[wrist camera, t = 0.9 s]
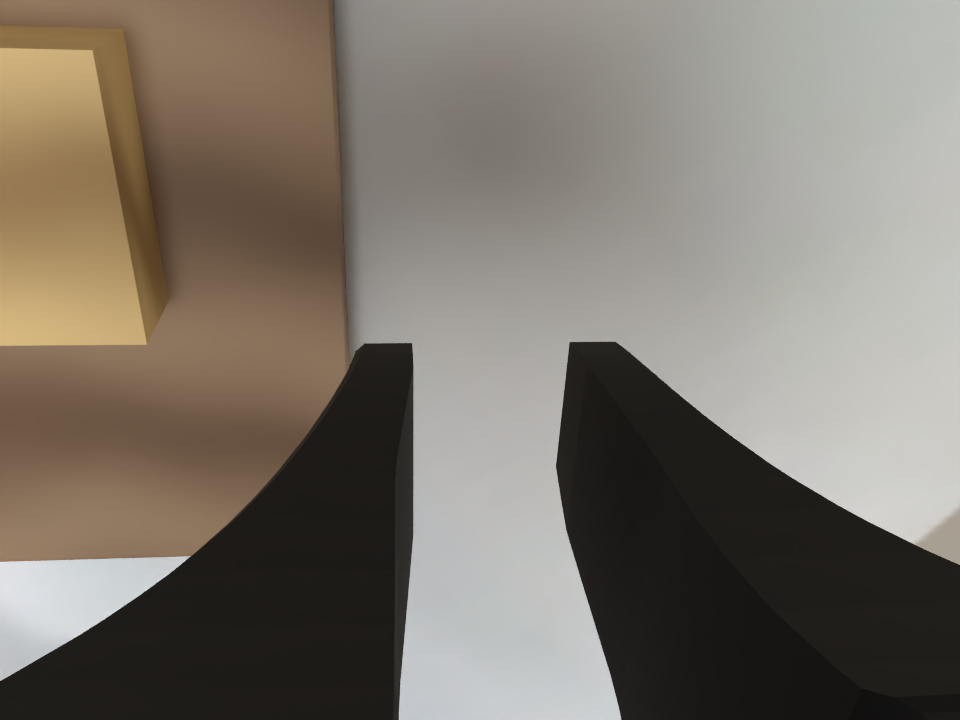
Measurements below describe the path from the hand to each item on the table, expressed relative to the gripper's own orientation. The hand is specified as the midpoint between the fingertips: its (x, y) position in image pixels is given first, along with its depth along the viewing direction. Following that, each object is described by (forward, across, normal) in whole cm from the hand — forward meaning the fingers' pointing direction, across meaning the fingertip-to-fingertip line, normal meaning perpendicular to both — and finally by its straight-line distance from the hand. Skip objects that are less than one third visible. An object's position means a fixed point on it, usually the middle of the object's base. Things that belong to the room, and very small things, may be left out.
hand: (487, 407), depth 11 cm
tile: (+9, +9, 0) cm, 13 cm away
